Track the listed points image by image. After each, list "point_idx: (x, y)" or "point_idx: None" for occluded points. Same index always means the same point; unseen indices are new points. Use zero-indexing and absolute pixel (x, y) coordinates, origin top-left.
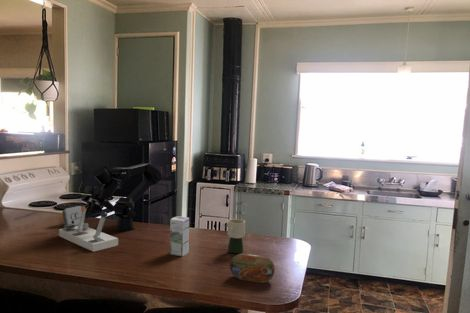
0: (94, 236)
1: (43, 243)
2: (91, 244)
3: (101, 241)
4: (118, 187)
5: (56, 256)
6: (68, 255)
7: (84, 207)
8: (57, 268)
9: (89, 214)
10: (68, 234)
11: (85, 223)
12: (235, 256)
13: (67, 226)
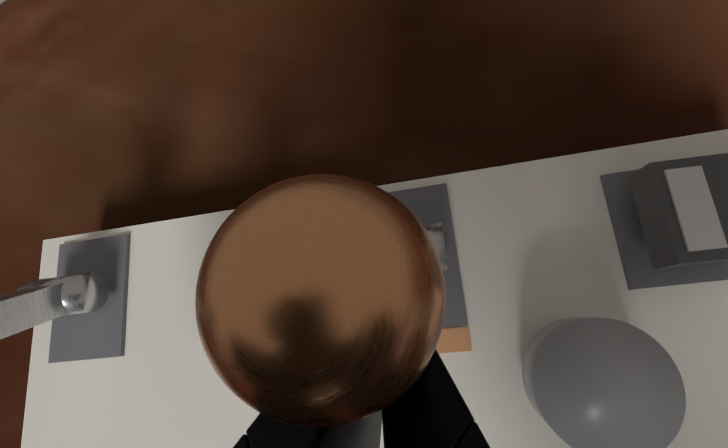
0: (63, 277)
1: (529, 6)
2: (76, 237)
3: (51, 325)
4: None
5: (182, 41)
6: (149, 101)
7: (202, 266)
8: (27, 20)
9: None
10: (500, 169)
11: (639, 427)
12: None
13: (660, 163)
